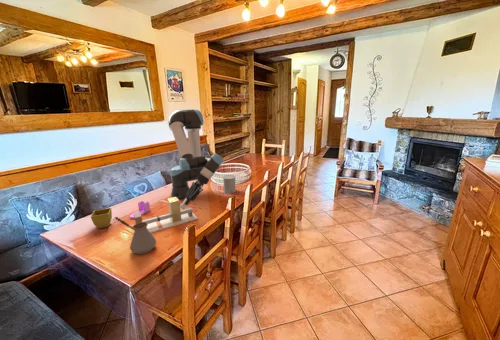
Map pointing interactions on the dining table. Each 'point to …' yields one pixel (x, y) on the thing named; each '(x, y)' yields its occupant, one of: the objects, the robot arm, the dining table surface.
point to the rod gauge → (165, 220)
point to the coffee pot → (140, 238)
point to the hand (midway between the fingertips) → (181, 208)
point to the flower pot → (101, 217)
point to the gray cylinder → (229, 184)
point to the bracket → (141, 208)
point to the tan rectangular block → (174, 208)
